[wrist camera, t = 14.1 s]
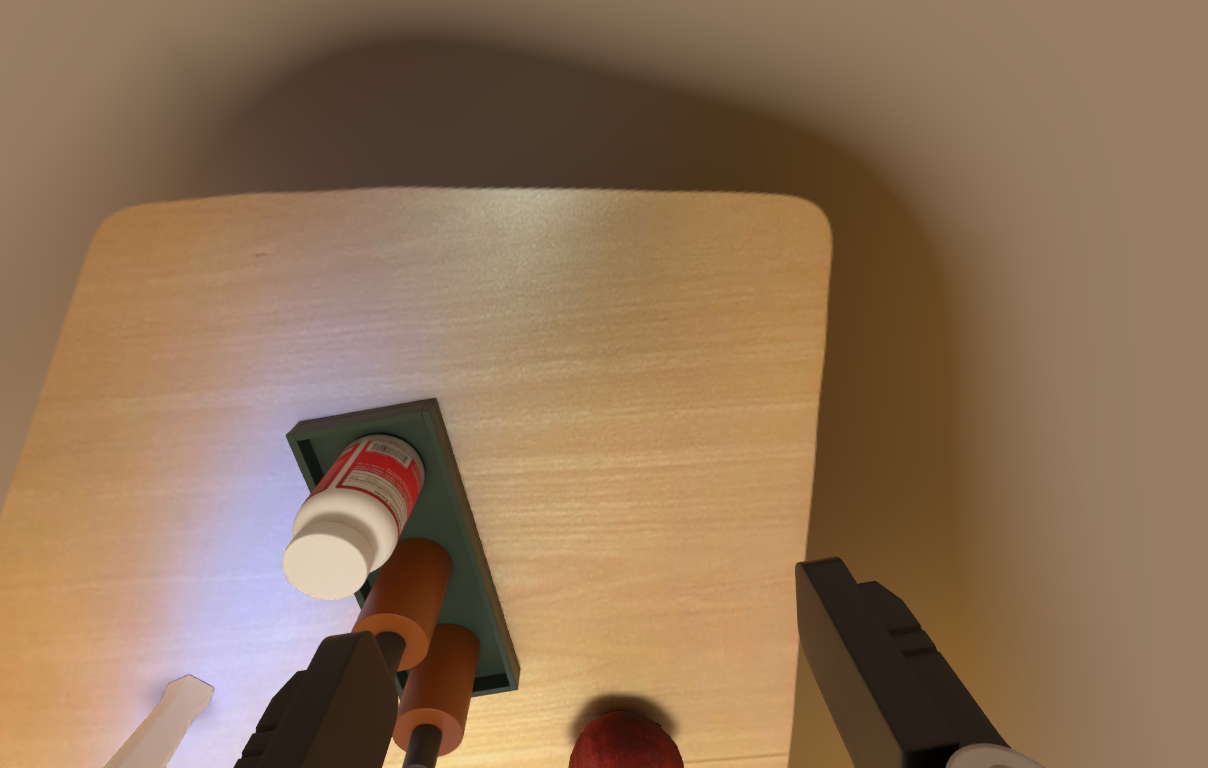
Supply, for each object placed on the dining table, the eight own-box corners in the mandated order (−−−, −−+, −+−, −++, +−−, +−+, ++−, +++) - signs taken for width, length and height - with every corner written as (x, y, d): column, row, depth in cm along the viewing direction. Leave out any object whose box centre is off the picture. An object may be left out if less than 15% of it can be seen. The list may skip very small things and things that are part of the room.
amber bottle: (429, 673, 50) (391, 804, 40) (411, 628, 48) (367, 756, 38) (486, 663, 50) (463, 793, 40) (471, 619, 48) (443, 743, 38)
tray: (409, 687, 52) (403, 708, 50) (298, 421, 42) (284, 435, 40) (520, 669, 52) (518, 690, 50) (436, 397, 41) (429, 410, 39)
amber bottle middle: (397, 594, 47) (348, 716, 37) (377, 543, 45) (319, 658, 35) (459, 584, 47) (427, 704, 37) (442, 532, 45) (402, 644, 35)
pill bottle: (355, 508, 44) (288, 617, 34) (330, 437, 41) (250, 531, 31) (436, 497, 44) (392, 603, 33) (415, 425, 41) (362, 516, 31)
